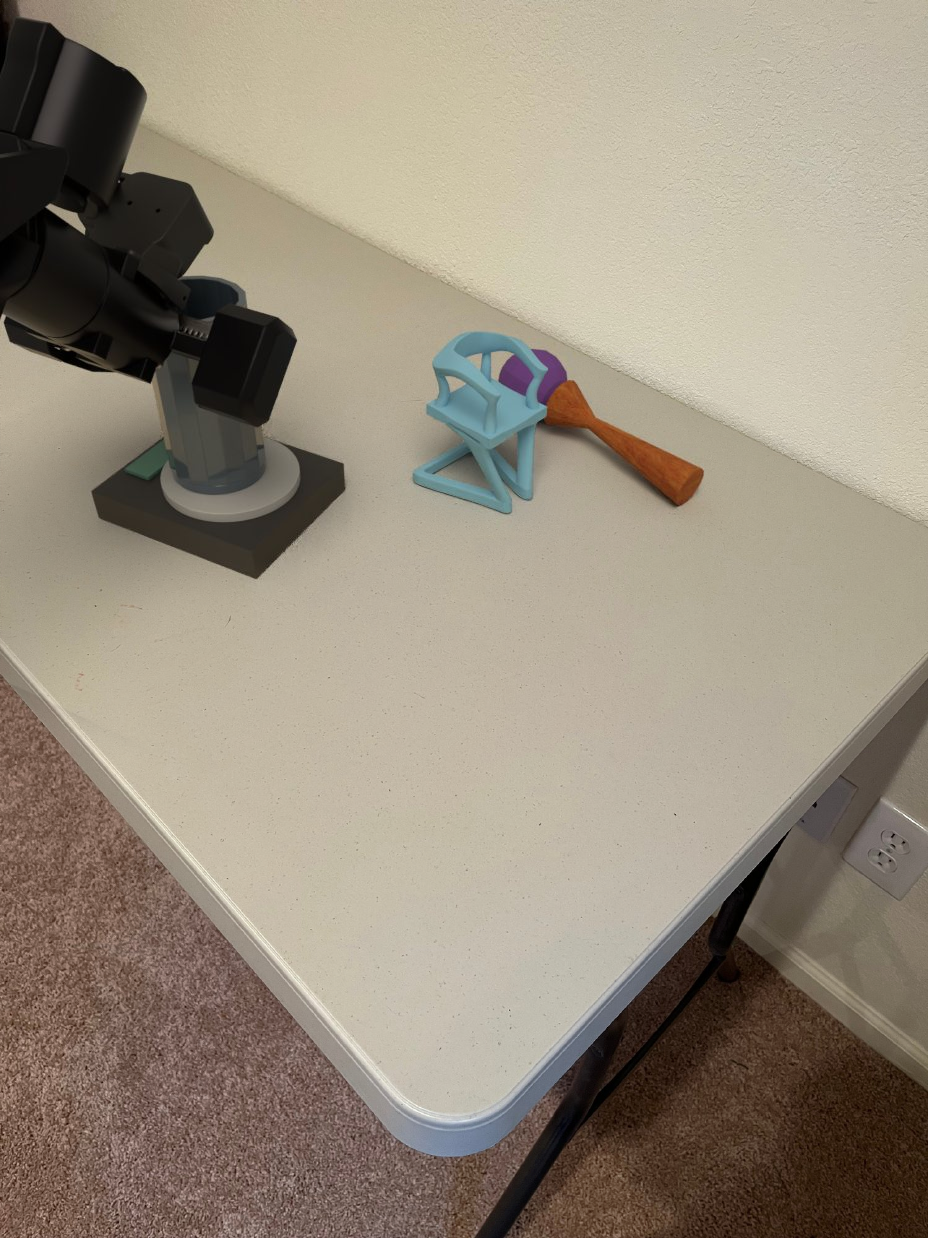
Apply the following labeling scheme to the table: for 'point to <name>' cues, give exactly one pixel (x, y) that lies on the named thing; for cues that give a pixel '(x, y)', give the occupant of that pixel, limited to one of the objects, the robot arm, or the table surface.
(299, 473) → the scale
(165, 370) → the cup
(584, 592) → the table surface
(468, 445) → the chair
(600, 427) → the kendama
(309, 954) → the table surface
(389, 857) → the table surface
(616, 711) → the table surface
